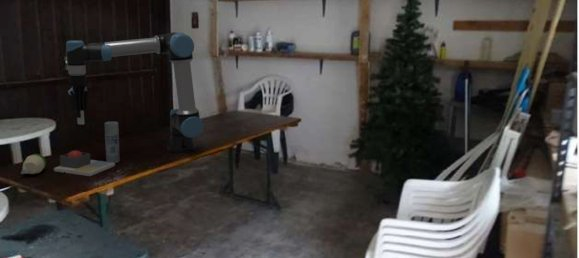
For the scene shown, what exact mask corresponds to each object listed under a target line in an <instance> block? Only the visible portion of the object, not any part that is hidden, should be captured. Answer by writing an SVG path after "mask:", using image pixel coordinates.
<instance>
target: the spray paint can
mask: <svg viewBox="0 0 579 258" xmlns="http://www.w3.org/2000/svg"><path fill="white" fill-rule="evenodd" d="M119 130H120V129H119V122H118V121H105V122H104V141H105V143H104V144H105V157H106V158H105V159H106V161H105V162H111V163H115V164H116V163H119V162H120V160H121V159H120V136H119V135H120V134H119V132H120V131H119Z"/></svg>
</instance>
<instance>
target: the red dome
mask: <svg viewBox="0 0 579 258" xmlns="http://www.w3.org/2000/svg"><path fill="white" fill-rule="evenodd" d="M68 153H69V154H68ZM68 153H67V154H68V156H67V157H73V158H78V157H80V156H83V155H82V153H83V152H82V153H81V151H79V150H71V151H70V152H68Z"/></svg>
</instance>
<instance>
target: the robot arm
mask: <svg viewBox="0 0 579 258" xmlns="http://www.w3.org/2000/svg"><path fill="white" fill-rule="evenodd" d="M194 51H195V43H194V41H193V38H192V37H191V36H190V35H188V34H186V33H184V32H175V31H174V32H168V33H165V34H163V33H162V34H157V35H154V36H153V37H149V38H146V37H145V38H138V39H137V38H135V39H125V40H116V41H115V40H114V41H105V42H104V41H103V42H90V43H88V44H85V42H84V41H83V40H67V41H66V42H65V52H66V61H67V62H66V63H67V71H68V72H67V73H68V74H69V75H68V83H69V84H70V87H69V88H70V89H69V90H67V91H66V94H67V95H68V98H69V102H70V106H71V110H72V111H75V115H76V119H77V120H76V121H77V125H85V124H86V123H85V111H87V108H88V103H89V93H90V89H91V88H90V87H87V86H86V83H87V75H86V73H87V70H86V62H106V61H107V62H108V61H111V60H112V58H114V57H123V56H133V55H134V56H135V55H143V54H144V55H146V54H151V53H156V54H157V55H161V54H162V55H163V54H167V55H169V62H171V63H172V64H173V65H172V66H173V71H174V73H173V74H174V79H175V89H176V90H175V91H176V96H177V104H178V108H173V109H171V110H170V114H169V117H170V120H169V123H170V128H169V129H170V137H169V139H168V144H167V151H168V152H172V153H177V154H178V152H181V153H182V152H184V153H191V152H194V151H196V144H195V140H194V138H197V137H198V136H199V135H200V134H201V133H202V131H203V129H204V123H203V120H202V119H201V117H200V111H199V109H198V107H197V108H196V102H195V101H196V100H195V92H194V91H195V90H194V83H193V82H194V81H193V74H192V65H191V62H192V61H193V59H194V58H193V57H194V56H193V52H194Z"/></svg>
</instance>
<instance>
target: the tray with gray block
mask: <svg viewBox="0 0 579 258" xmlns="http://www.w3.org/2000/svg"><path fill="white" fill-rule="evenodd" d="M80 152H81V151H80ZM69 153H70V152H68V153H66V154H62V155H59V166H56V167H54V168H53V171H54V172H57V173H64V172H65V174H71V175H72V174H73V175H79V176H86V177H91V176H94V175H96V174H99V173H101V172H104V171H106V170H108V169H111V168H113V167H115V166H116V163H111V162H107V161H104V160H97V159H96V160H95V159H91V153H88V152H81V153H82V155H83V156H80V157H78V158H73V157H67V156H68V154H69Z"/></svg>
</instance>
